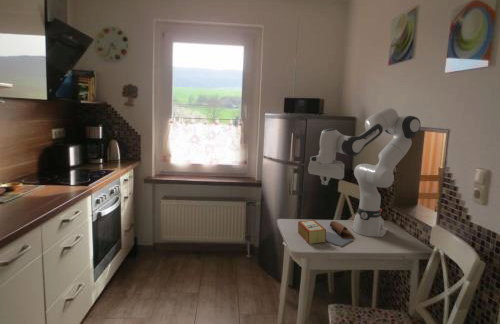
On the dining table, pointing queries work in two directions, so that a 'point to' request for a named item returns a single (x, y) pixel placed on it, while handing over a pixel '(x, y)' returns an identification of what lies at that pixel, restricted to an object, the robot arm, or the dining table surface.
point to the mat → (337, 239)
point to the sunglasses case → (341, 230)
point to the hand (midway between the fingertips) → (324, 184)
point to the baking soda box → (312, 231)
